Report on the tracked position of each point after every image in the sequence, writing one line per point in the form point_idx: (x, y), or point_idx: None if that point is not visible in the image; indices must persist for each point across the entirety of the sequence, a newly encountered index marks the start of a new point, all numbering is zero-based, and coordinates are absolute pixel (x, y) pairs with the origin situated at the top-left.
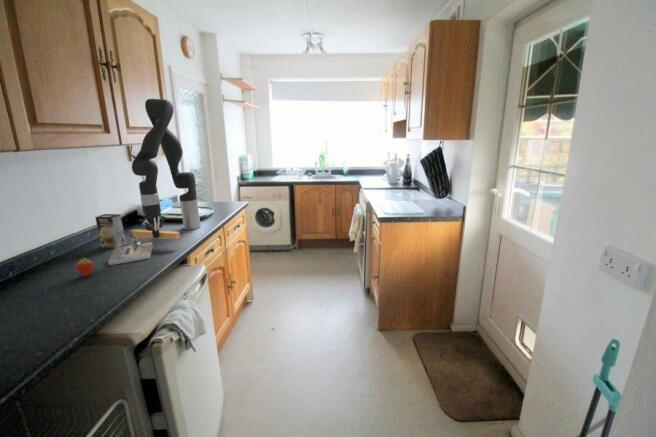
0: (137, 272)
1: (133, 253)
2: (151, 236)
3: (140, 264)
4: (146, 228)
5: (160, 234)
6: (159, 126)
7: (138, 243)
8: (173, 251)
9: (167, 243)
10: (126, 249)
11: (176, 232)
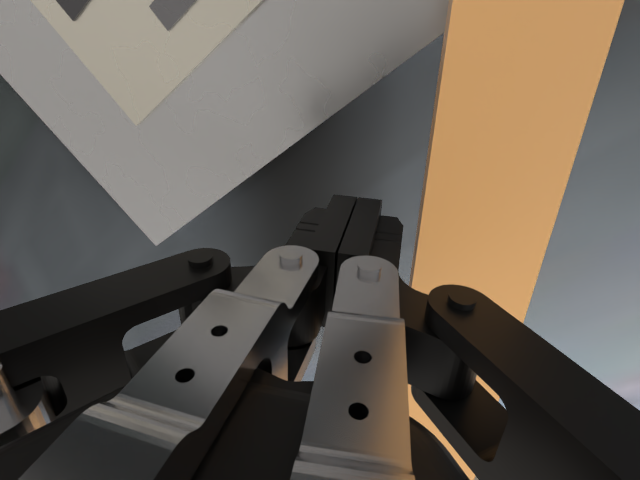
0: (5, 281)
1: (100, 76)
2: (439, 68)
3: (76, 225)
4: (113, 289)
5: (412, 273)
6: None
7: None
8: None
9: (596, 142)
10: None
11: None
